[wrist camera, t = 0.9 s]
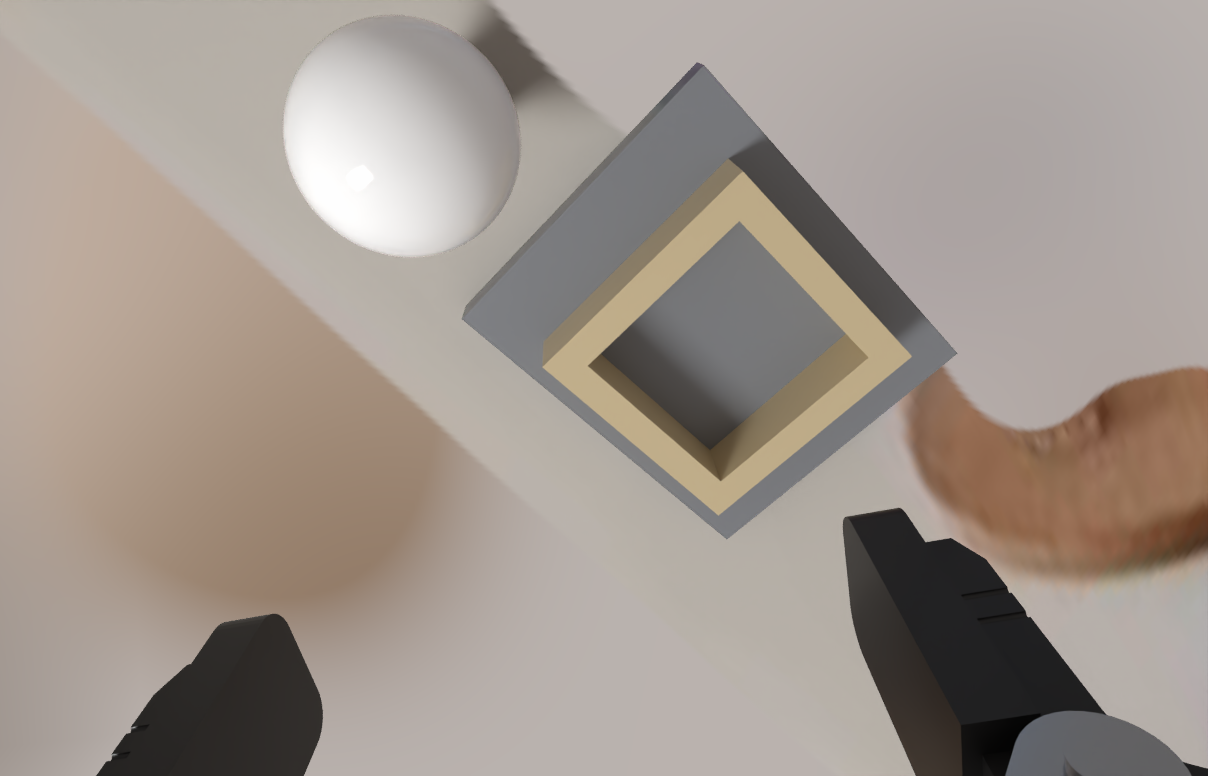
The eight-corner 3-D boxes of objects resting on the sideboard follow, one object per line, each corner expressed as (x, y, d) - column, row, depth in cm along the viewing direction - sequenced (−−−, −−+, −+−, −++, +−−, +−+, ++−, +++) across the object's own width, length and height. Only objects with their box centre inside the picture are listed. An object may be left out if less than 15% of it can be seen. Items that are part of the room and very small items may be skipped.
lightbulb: (487, 224, 30) (453, 326, 21) (330, 147, 29) (213, 218, 19) (559, 70, 28) (560, 102, 18) (393, -23, 26) (296, -42, 17)
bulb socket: (465, 306, 32) (454, 343, 28) (696, 62, 28) (717, 69, 25) (720, 520, 37) (738, 574, 34) (941, 339, 34) (987, 378, 30)
